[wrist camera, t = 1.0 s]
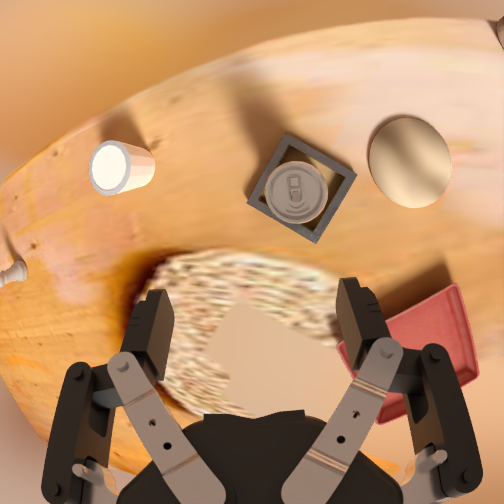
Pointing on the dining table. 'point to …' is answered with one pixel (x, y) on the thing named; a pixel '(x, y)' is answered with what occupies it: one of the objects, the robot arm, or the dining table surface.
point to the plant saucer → (429, 340)
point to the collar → (318, 156)
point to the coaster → (410, 162)
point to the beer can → (296, 192)
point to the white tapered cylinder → (120, 167)
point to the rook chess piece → (14, 273)
